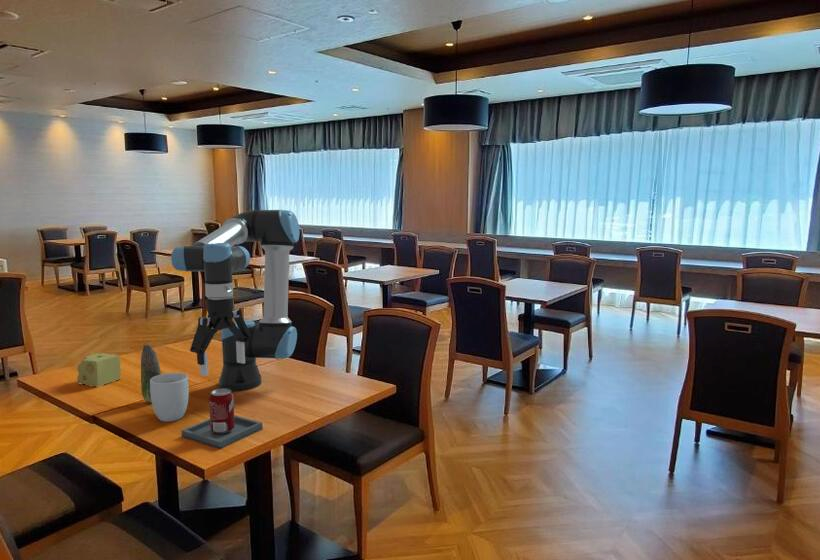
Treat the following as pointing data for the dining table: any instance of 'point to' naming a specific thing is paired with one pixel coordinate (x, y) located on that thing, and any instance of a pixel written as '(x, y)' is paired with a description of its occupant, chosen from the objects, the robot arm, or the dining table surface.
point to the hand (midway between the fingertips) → (223, 368)
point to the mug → (169, 395)
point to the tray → (220, 441)
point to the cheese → (99, 369)
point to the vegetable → (148, 370)
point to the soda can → (221, 411)
